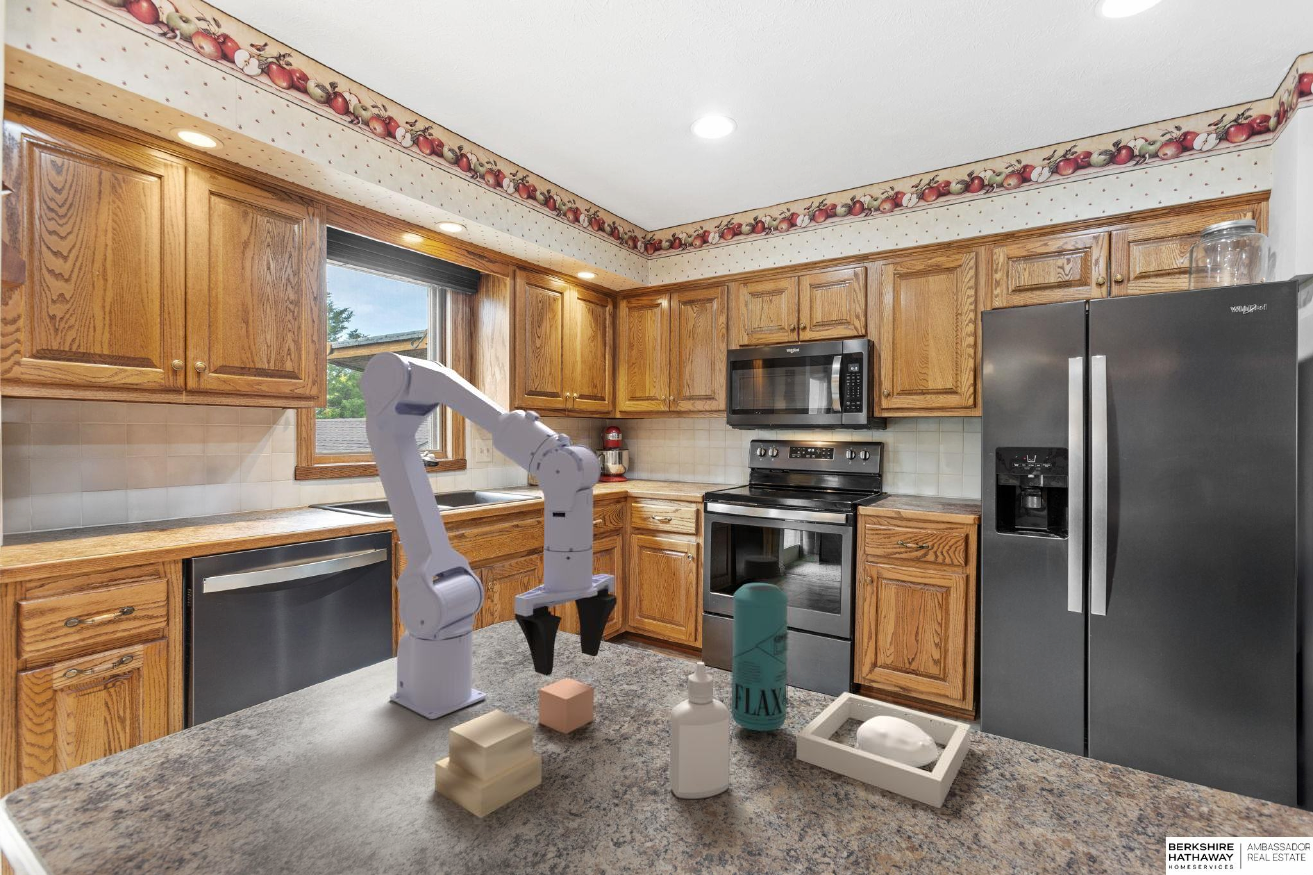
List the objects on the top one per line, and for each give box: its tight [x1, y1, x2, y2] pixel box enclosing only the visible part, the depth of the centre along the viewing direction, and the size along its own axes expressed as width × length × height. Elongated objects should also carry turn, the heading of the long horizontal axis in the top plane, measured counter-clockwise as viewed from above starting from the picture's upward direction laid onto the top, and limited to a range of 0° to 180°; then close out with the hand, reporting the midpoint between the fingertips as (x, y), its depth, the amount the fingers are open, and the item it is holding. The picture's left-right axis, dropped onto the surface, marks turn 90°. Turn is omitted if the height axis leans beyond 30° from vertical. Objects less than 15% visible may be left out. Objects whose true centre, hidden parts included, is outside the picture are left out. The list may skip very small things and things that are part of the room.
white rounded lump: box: [856, 716, 939, 768], centre depth 65 cm, size 8×7×4 cm
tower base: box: [434, 751, 543, 819], centre depth 58 cm, size 7×7×3 cm
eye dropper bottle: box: [668, 661, 731, 800], centre depth 58 cm, size 4×6×12 cm
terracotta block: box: [538, 677, 595, 735], centre depth 72 cm, size 4×4×4 cm
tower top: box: [448, 709, 534, 781], centre depth 59 cm, size 6×6×3 cm
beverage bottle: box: [729, 555, 789, 731], centre depth 70 cm, size 6×7×20 cm
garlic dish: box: [796, 691, 971, 809], centre depth 66 cm, size 14×14×2 cm
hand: (567, 663), depth 72 cm, fingers open, 7 cm apart
